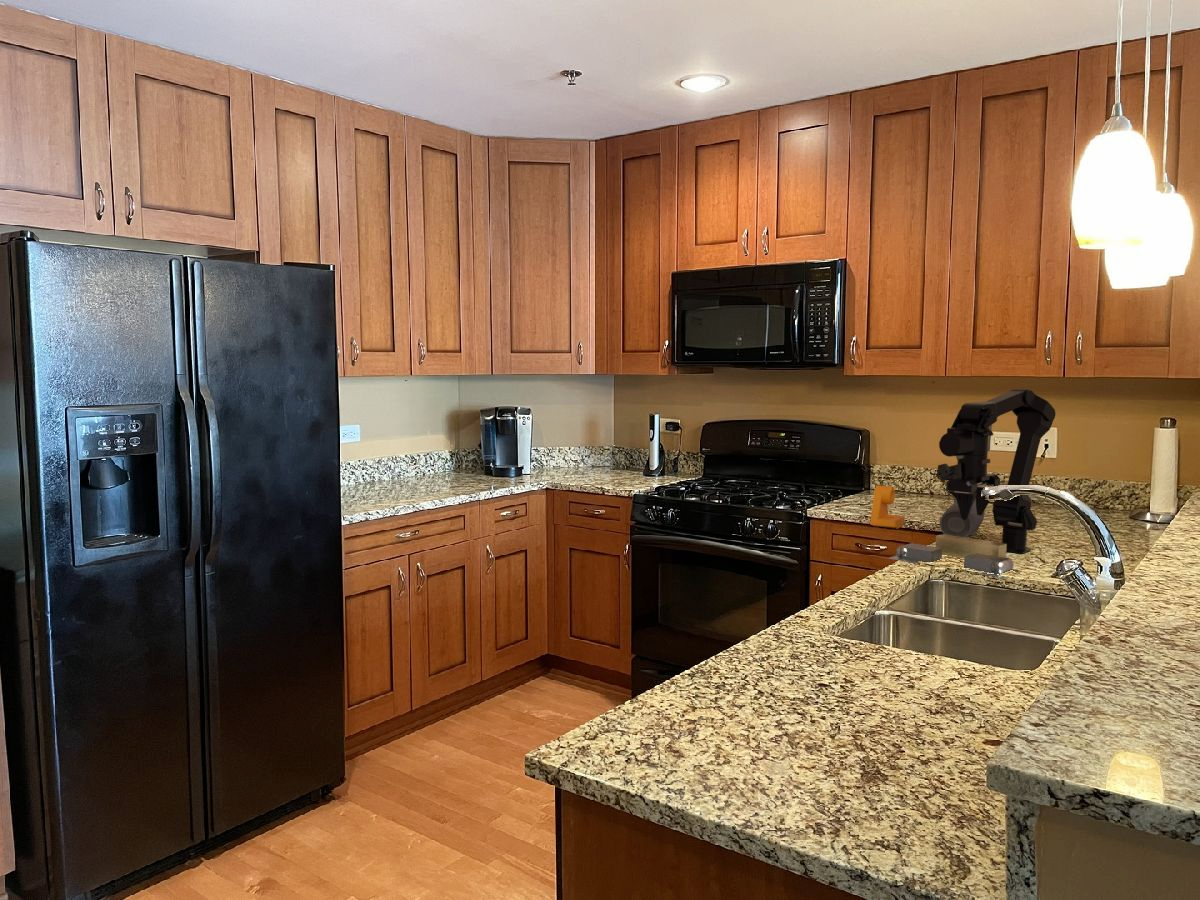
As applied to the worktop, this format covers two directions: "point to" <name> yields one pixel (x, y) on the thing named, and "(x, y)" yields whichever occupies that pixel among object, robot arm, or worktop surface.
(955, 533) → the bluetooth speaker
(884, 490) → the bracket
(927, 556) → the pair of grey blocks
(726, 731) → the worktop surface
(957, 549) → the tan wooden block
